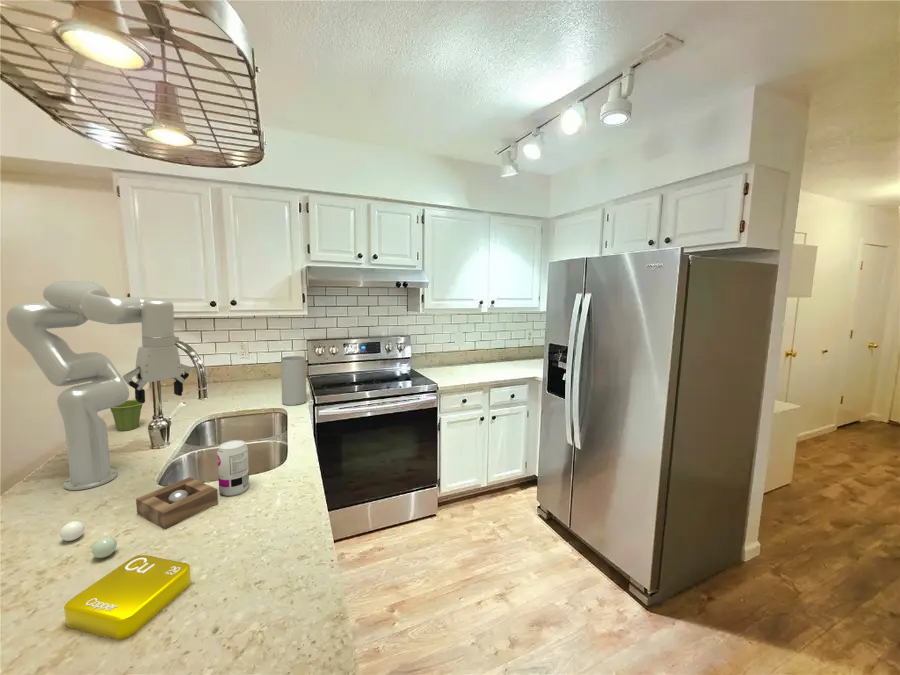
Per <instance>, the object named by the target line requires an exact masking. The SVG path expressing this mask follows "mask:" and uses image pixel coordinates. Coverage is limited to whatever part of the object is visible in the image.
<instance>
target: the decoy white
mask: <svg viewBox="0 0 900 675" xmlns="http://www.w3.org/2000/svg"><path fill="white" fill-rule="evenodd" d="M85 529H86V526H85V524H84V523H83V522H82V521H79V520H74V521H69V522H67V523H66V524H65V525H64V526H63V527H62V528H61V529H60V531H59V537H60V538H61V540H63V541H67V542H72V541H75V540H77V539H78V538H80V537H81V536H82V535H83V534H84V532H85Z"/></svg>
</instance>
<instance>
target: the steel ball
mask: <svg viewBox="0 0 900 675" xmlns="http://www.w3.org/2000/svg"><path fill="white" fill-rule="evenodd" d="M188 496H190V495H189V493H188V492H187V491H185V490H177V491H175V492H173V493H172V494H170V496H169V497H168V499H167V503H168V504H172V503H174V502H177V501H179V500H181V499H184V498H186V497H188Z"/></svg>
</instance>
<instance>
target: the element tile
mask: <svg viewBox="0 0 900 675" xmlns="http://www.w3.org/2000/svg"><path fill="white" fill-rule="evenodd" d="M191 579H192V578H191V565H190V564H189V563H187V562H182V561H176V560H173V559H172V560H171V559H166V558H162V557H157V556H152V555H148V554H147V555H145V554H138V555H135V556H133V557H132V558H130V559H128V560H127V561H125V562H124V563H122V564H121V565H119V566H118V567H116V568H115V569H114V570H112V571H110V572H109V573H107V574H106V575H104V576H103V577H102V578H100V579H99V580H97V581H95V582H94V583H92V584H91V585H90V586H87V587H86V588H85V589H84V590H82V591H81V592H79V593H78V594H76V595H75V596H72V597H71V598H70V599H69V600H67V602H66V603H65V604H64V607H63V609H64V618H65V625H66V627H67V628H68V629H72V630H77V631H80V632H84V633H89V634H93V635H96V634H97V635H96V636H100V635H101V637H104V636H106V637H105V638H107V637H110V638H109V639H111V638H114V639H113V640H115V639H120V640H125V639H127V638H129V637H131V636H133V635H134V634H136V633H137V632H138V631H139V630H141V629H142V628H143V627H144V626H145V625H146V624H147V623H149V622H150V621H151V620H152V619H154V617H155V616H157V614H159V612H161V611H162V610H163V609H165V608H166V607H167V606H168V605H169V604H171V603H172V602H173V601H174V600H175V599H176V598H177V597H178V596H180V594H181V595H182V593H183V592H184V591H185V590H187V588H189V587H190V584H191V583H192V580H191Z"/></svg>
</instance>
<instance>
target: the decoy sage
mask: <svg viewBox="0 0 900 675" xmlns="http://www.w3.org/2000/svg"><path fill="white" fill-rule="evenodd" d="M117 546H118V542H117V539H116V538H115V537H112V536H104V537H101V538H99V539H97V541H95V542H94V544H93V545H92V548H91V554H92V555H93V557H95V558H97V559H104V558H107V557H108V556H110V555H112V554H113V553H114V552H115V551H116V549H117Z"/></svg>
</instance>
